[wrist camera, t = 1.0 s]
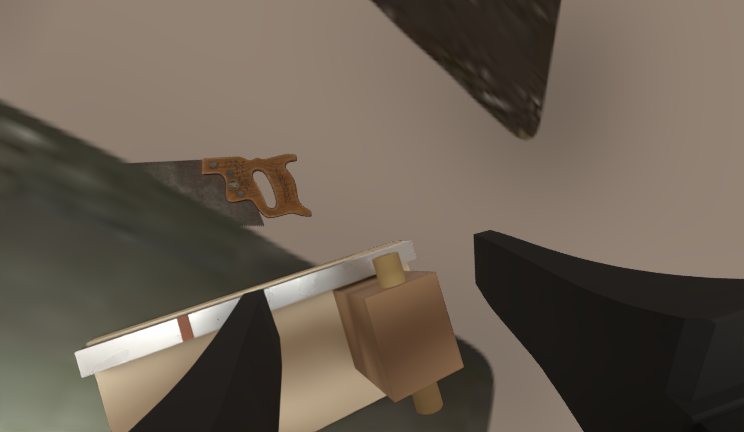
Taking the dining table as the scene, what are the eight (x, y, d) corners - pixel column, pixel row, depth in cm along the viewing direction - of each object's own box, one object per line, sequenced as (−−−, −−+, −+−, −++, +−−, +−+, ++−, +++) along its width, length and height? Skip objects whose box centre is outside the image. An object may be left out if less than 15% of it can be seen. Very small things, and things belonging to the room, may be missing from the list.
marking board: (428, 363, 26) (452, 375, 23) (143, 502, 19) (127, 544, 16) (392, 241, 26) (412, 238, 23) (96, 337, 19) (73, 350, 16)
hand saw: (-232, 282, 16) (-251, 282, 15) (-233, 179, 16) (-251, 175, 16) (311, 221, 25) (313, 220, 24) (302, 155, 25) (304, 152, 24)
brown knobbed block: (416, 365, 24) (472, 395, 18) (362, 391, 22) (404, 433, 17) (382, 248, 24) (426, 243, 19) (325, 266, 23) (355, 267, 17)
